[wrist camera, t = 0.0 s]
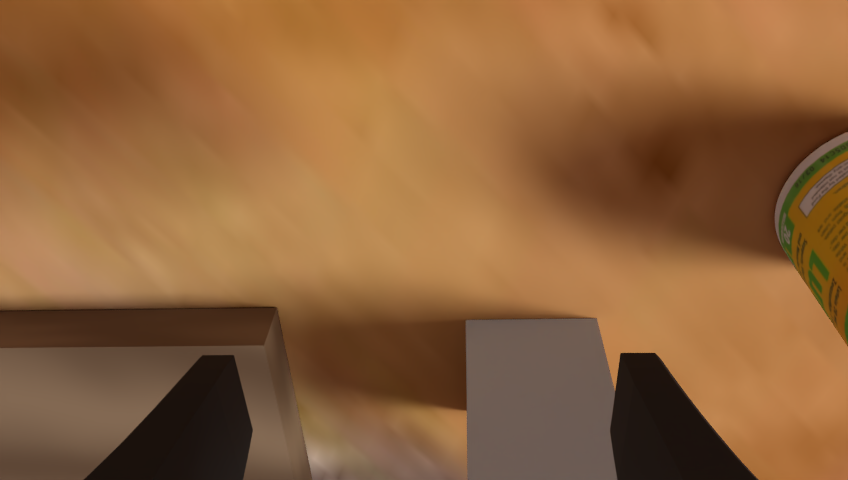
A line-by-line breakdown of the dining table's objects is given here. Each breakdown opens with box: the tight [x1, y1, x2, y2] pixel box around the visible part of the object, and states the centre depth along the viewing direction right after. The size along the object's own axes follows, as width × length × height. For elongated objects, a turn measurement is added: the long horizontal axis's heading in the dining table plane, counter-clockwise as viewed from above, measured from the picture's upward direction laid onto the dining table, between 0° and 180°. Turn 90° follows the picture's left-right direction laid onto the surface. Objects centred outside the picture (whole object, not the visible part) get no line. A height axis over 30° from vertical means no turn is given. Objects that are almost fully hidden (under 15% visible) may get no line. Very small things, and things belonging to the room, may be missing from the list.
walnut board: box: [0, 308, 312, 480], centre depth 29 cm, size 14×14×2 cm
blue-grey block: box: [466, 318, 617, 480], centre depth 24 cm, size 5×5×7 cm
